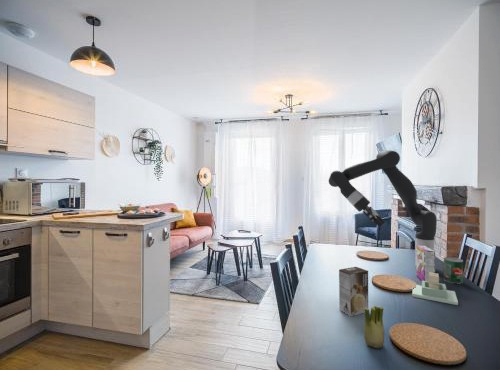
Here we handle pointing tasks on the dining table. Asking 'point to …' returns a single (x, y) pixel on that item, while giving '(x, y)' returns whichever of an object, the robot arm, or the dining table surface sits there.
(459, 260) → the canned tomato
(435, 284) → the ash slat
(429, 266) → the candy bar box
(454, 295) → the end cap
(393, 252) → the dining table surface
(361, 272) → the coffee box
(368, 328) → the fennel bulb
